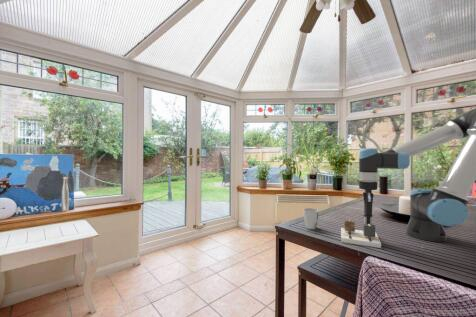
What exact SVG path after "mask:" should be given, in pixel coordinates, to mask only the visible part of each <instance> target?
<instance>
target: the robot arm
mask: <svg viewBox="0 0 476 317" xmlns="http://www.w3.org/2000/svg"><path fill="white" fill-rule="evenodd" d="M465 138H467V139H466V140H465V142H464V144H463V146H462V147H461V149H460V151H459V153H458V154H457V155H456V158H455V159H454V161H453V163H452V164H451V167H450V168H449V170H448V172H447V173H446V175H445V177H444V179H443V180H442V182H441V184H440V185H439V186H436V187H433V188H432V189H413V188H412V190H410V194H409V197H410V198H409V200H410V202H409V203H410V208H409V209H410V211H409V212H410V218H409V221H408V223H407V225H406V228H405V233H406V234H407V235H409V236H411V237H413V238H415V239H418V240H423V241H429V242H437V243H441V242H442V243H443V242H446V241H448V238H447V237H448V236H447V235H448V234H447V232H446V230H445V228H444V227H454V226H459V225H461V224H463V223H464V222H465V221H466V220H467V218H468V217H469V216H468V215H469V212H468V208H467V205H468V204H469V202H470V201H469V198H468V196H467V194H468V193H469V191H470V190H471V188H472V186H473V185H474V183H475V182H476V107H475V108H473V109H470V110H469V111H467V112H465V113H463V114H460V115H458V116H457V117H455V118H453V119H450V120H449V121H447V122H446V123H445V125H443V126H440V127H438V128H435V129H433V130H431V131H429V132H427V133H424V134H422V135H420V136H418V137H415V138H414V139H413V138H412V139H411V140H408V141H406V142H404V143H401V144H399V145H397V146H394V147H392V148H391V149H388V150H386V151H384V152H379V151H378V149H377V148H361V149H360V150H359V155H358V166H359V167H358V169H359V170H358V172H359V173H357V176H358V177H359V178H358V180H359V181H358V189H359V190H360V189H361V190H364V192H362V196H363V204H364V205H363V208H364V209H363V213H364V214H363V215H362V216H363V217H364V224H371V225H372V217H373V216H374V215H373V203H374V201H373V200H374V193H373V191H376V190H378V182H377V181H378V178H379V174H378V169H380V170H381V169H383V170H385V169H386V170H387V169H388V170H405V169H406V170H407V169H408V168H410V167H409V166H410V165H411V164H410V163H411V158H412V157H415V156H416V155H419V154H423V153H424V152H426V151H430V150H432V149H435V148H436V147H439V146H442V145H444V144H446V143H449V142H451V141H453V140H462V139H465Z"/></svg>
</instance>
